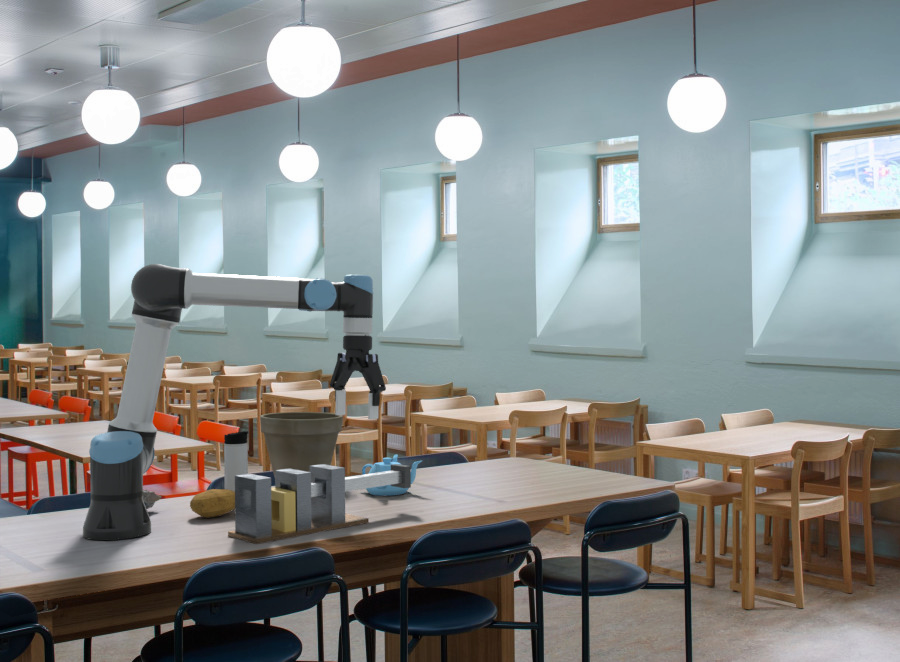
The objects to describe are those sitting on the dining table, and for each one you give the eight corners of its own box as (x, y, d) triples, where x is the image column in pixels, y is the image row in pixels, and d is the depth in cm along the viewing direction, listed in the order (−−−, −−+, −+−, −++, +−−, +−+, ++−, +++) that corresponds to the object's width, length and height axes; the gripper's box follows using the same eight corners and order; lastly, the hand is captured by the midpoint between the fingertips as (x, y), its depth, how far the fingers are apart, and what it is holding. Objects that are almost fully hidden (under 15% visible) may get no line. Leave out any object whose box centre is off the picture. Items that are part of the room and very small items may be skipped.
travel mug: (243, 506, 257) (242, 432, 257) (220, 505, 259) (220, 432, 258) (252, 502, 263) (252, 429, 263) (230, 501, 265) (229, 429, 265)
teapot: (354, 492, 279) (353, 457, 279) (399, 487, 286) (399, 452, 286) (376, 499, 266) (375, 462, 266) (423, 494, 274) (422, 458, 274)
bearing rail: (256, 543, 212) (255, 481, 212) (228, 535, 221) (227, 475, 220) (368, 522, 234) (368, 465, 234) (338, 515, 243) (338, 461, 243)
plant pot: (359, 482, 295) (358, 412, 295) (308, 495, 273) (307, 419, 273) (296, 477, 307) (295, 410, 307) (243, 488, 286) (242, 416, 286)
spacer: (284, 532, 219) (284, 493, 219) (264, 526, 226) (263, 488, 226) (295, 530, 221) (295, 491, 221) (274, 524, 228) (274, 487, 228)
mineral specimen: (130, 531, 251) (150, 524, 245) (106, 513, 248) (125, 506, 241) (147, 500, 257) (168, 494, 251) (124, 483, 254) (144, 476, 248)
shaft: (299, 505, 224) (298, 482, 224) (285, 502, 228) (285, 479, 228) (410, 487, 248) (410, 465, 248) (396, 485, 252) (396, 463, 252)
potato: (185, 516, 245) (185, 489, 245) (234, 510, 251) (234, 484, 251) (195, 522, 237) (194, 494, 237) (245, 516, 243) (244, 489, 243)
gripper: (400, 335, 240) (399, 419, 239) (339, 334, 257) (338, 412, 257) (377, 335, 234) (376, 421, 234) (317, 334, 252) (316, 414, 252)
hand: (356, 417), depth 246 cm, fingers open, 13 cm apart
